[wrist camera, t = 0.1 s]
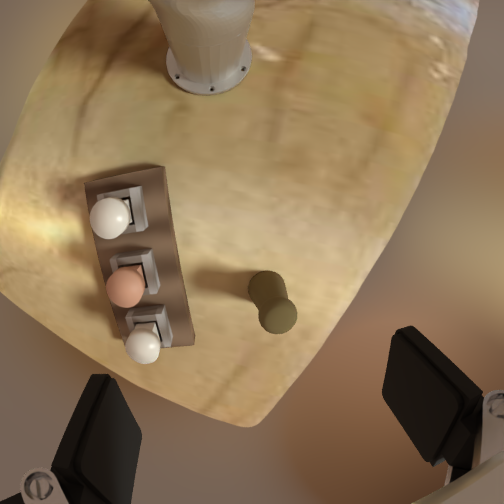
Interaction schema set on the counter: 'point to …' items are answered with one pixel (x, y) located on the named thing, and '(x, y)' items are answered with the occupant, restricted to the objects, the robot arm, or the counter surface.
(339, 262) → the counter surface
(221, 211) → the counter surface
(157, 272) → the button board
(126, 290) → the button middle
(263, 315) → the cork
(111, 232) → the button near
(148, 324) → the button far
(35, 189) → the counter surface
